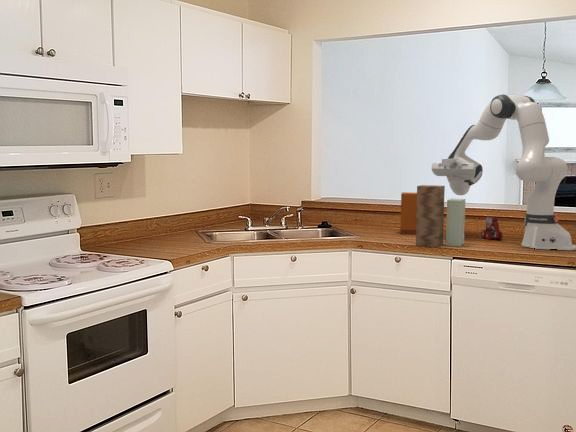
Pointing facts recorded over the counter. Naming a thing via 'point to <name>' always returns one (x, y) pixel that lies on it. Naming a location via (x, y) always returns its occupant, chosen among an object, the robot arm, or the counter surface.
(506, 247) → the counter surface
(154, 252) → the counter surface
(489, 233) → the toy fire truck
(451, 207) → the green block
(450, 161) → the aluminium bar
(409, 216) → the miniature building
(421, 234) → the walnut box
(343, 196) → the counter surface
